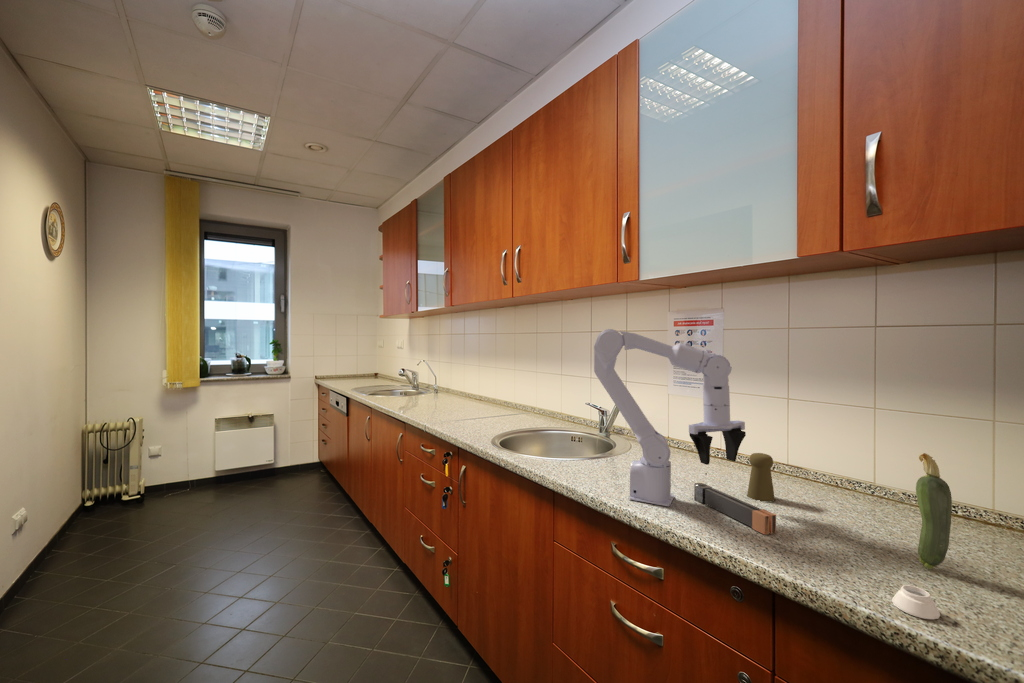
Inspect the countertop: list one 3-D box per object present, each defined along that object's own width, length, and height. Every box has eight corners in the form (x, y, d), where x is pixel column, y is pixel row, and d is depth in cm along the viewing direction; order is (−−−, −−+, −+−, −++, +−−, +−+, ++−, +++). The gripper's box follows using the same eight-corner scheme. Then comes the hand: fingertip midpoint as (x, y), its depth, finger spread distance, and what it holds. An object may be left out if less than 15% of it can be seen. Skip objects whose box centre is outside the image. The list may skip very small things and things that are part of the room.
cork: (778, 502, 106) (779, 457, 106) (751, 500, 107) (752, 456, 107) (769, 494, 111) (769, 451, 111) (743, 492, 113) (744, 450, 113)
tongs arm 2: (709, 503, 104) (710, 488, 104) (713, 503, 104) (714, 487, 104) (771, 533, 88) (771, 515, 88) (776, 532, 88) (776, 514, 88)
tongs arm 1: (704, 504, 103) (704, 488, 103) (708, 503, 104) (708, 488, 104) (764, 534, 87) (764, 516, 87) (769, 533, 88) (769, 515, 88)
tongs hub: (691, 498, 108) (691, 483, 108) (701, 497, 108) (701, 482, 108) (702, 504, 104) (702, 488, 104) (712, 503, 105) (712, 487, 105)
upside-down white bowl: (887, 607, 64) (934, 626, 60) (887, 587, 64) (934, 605, 60) (898, 597, 67) (944, 614, 62) (899, 578, 67) (944, 593, 62)
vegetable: (949, 570, 74) (951, 453, 74) (952, 580, 71) (953, 458, 71) (914, 561, 77) (915, 449, 77) (915, 570, 74) (916, 453, 74)
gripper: (702, 408, 97) (704, 469, 97) (754, 404, 102) (756, 463, 101) (682, 405, 104) (683, 461, 104) (731, 401, 108) (733, 456, 108)
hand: (718, 461), depth 103 cm, fingers open, 7 cm apart
